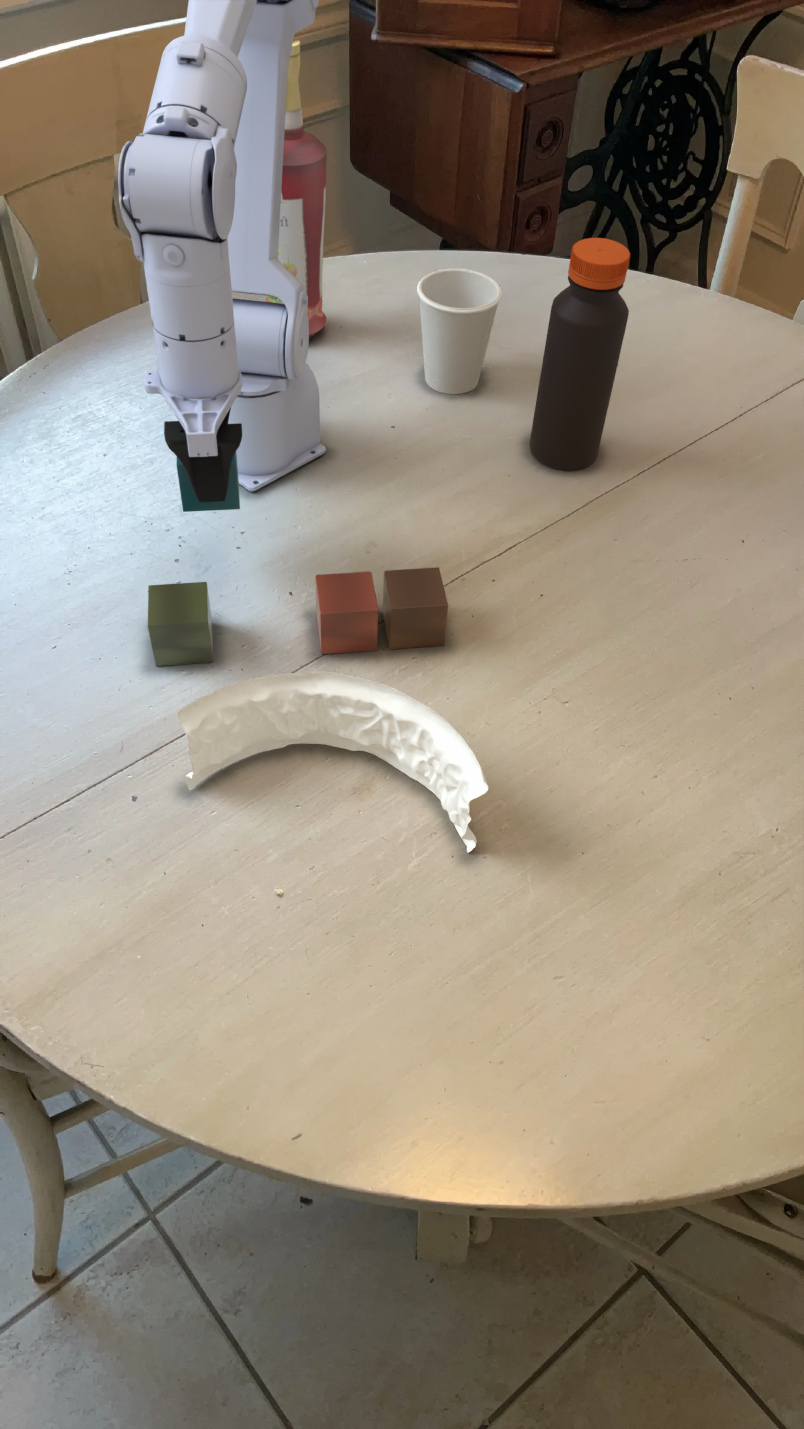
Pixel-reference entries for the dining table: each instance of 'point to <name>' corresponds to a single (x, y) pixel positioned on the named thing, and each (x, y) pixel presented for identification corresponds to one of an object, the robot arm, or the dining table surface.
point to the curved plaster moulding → (335, 731)
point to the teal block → (193, 504)
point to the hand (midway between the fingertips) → (211, 479)
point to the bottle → (581, 356)
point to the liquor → (302, 200)
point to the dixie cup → (456, 326)
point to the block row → (340, 612)
